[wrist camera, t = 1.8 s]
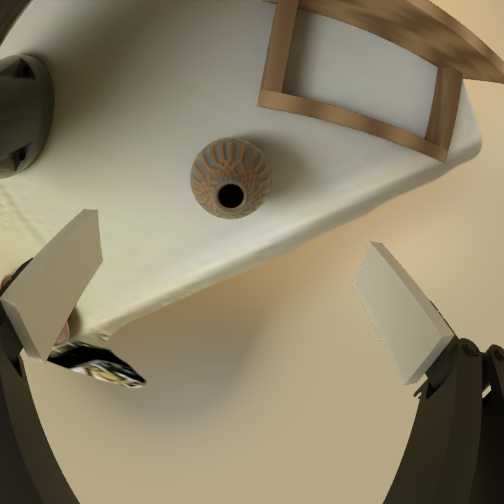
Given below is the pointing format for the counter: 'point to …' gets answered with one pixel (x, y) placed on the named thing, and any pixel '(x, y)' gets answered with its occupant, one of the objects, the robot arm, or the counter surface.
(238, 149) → the vase
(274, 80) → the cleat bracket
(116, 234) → the counter surface
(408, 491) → the robot arm
